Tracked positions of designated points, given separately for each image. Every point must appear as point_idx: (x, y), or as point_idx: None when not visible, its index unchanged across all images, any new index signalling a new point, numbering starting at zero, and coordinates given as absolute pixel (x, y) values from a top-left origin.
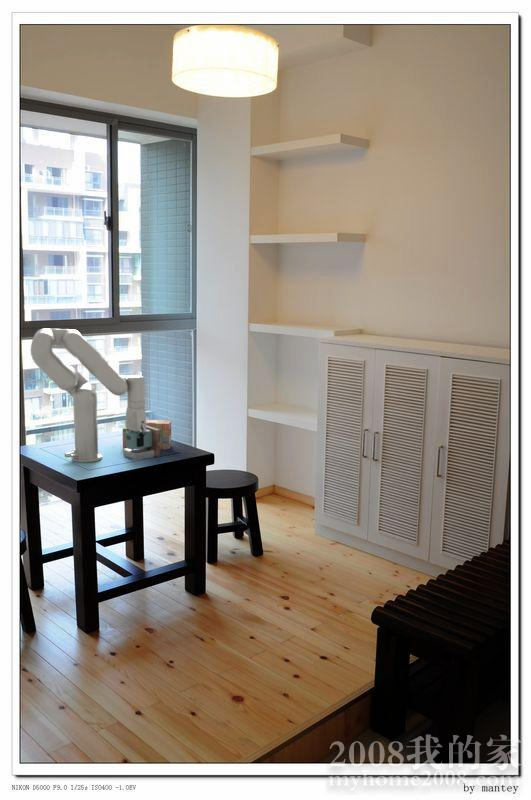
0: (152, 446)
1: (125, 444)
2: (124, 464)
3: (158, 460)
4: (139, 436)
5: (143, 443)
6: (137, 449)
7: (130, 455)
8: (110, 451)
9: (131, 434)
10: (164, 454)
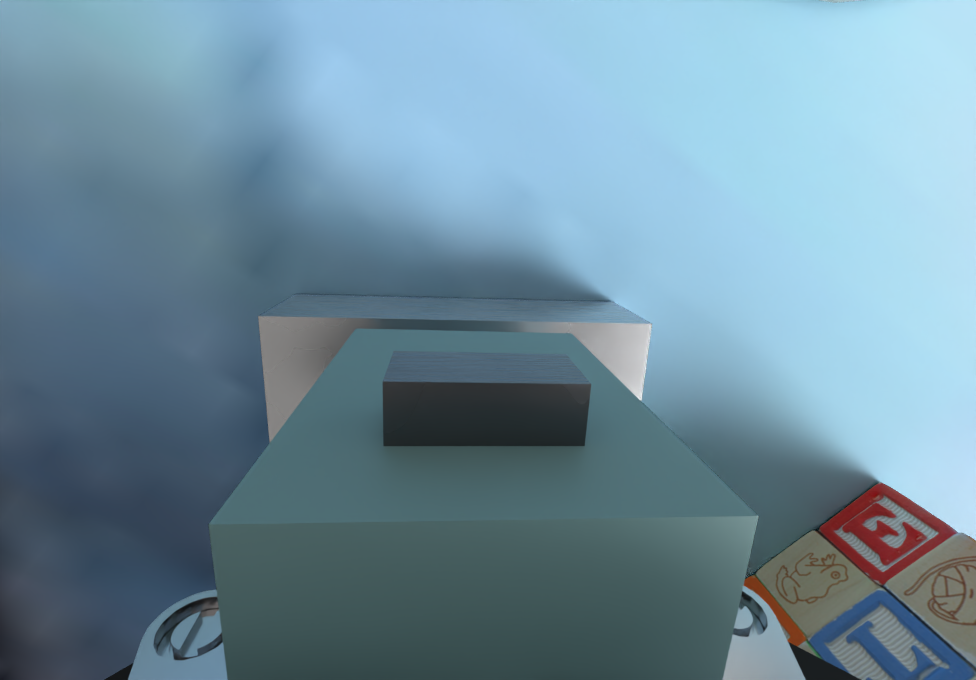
0: None
1: (891, 527)
2: (192, 32)
3: (128, 513)
4: (145, 663)
5: None
6: None
7: (430, 305)
8: (886, 285)
9: (264, 510)
10: None
